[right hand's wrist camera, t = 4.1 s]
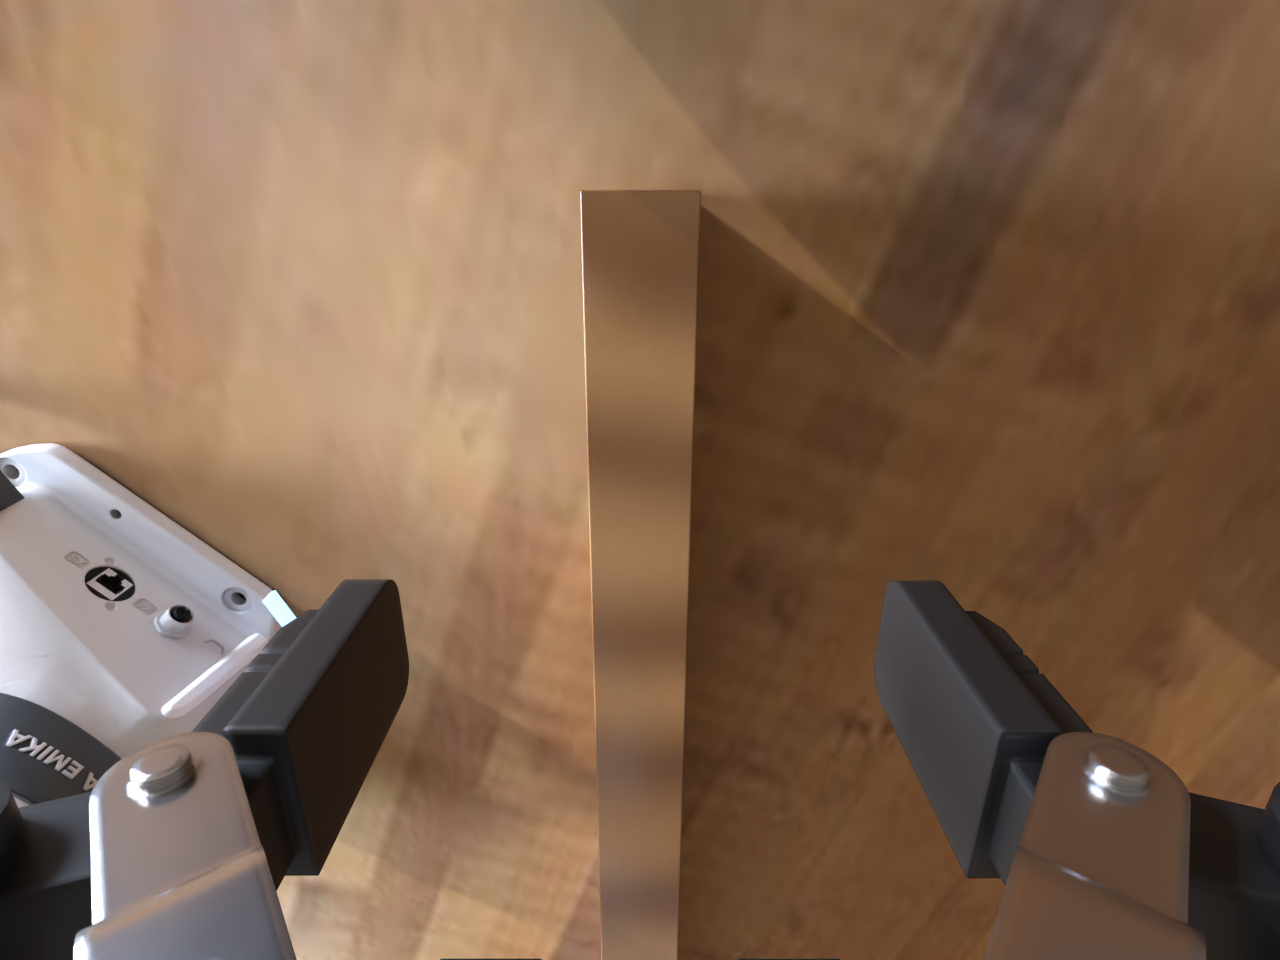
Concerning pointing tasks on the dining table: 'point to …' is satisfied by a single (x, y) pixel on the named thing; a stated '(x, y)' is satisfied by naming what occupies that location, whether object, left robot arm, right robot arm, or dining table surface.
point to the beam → (640, 545)
